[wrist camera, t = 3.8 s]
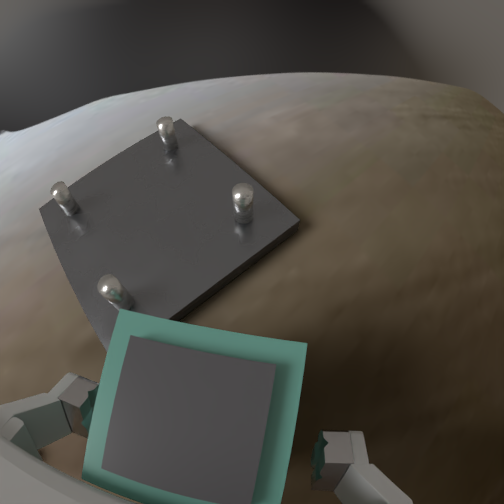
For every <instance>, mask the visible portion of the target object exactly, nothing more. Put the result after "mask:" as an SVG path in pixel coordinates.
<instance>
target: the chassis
mask: <svg viewBox="0 0 504 504" xmlns="http://www.w3.org/2000/svg"><path fill="white" fill-rule="evenodd" d="M156 124H157V128H158V131H157V132H155V133H153V134H151V135H150V136H148V137H146V138H144V139H143V140H141V141H139V142H137V143H136V144H134V145H132V146H131V147H129V148H127V149H126V150H124V151H122V152H121V153H119V154H118V155H116V156H114V157H113V158H111V159H110V160H108V161H106V162H105V163H103V164H102V165H100V166H99V167H97V168H96V169H94V170H93V171H91V172H90V173H88V174H87V175H85V176H84V177H82V178H81V179H79V180H78V181H76V182H75V183H74V184H72V185H71V186H69V187H68V188H67V186H66V185H65V183H64V182H57V183H56V184H54V185H53V187H52V188H51V194H52V196H53V197H54V198H53V199H52V200H50V201H49V202H48V203H46V204H45V205H44V206H42V207H41V208H40V209H39V210H40V213H41V216H42V218H43V221H44V224H45V226H46V229H47V231H48V234H49V236H50V239H51V241H52V244H53V246H54V249H55V251H56V253H57V256H58V258H59V260H60V262H61V265H62V267H63V269H64V271H65V273H66V276H67V278H68V280H69V282H70V284H71V286H72V288H73V290H74V292H75V294H76V296H77V298H78V300H79V302H80V304H81V306H82V308H83V310H84V312H85V314H86V316H87V318H88V319H89V321H90V323H91V325H92V327H93V328H94V330H95V332H96V334H97V336H98V337H99V339H100V341H101V343H102V344H103V346H104V348H105V349H106V351H107V352H108V348H109V345H110V341H111V338H112V334H113V331H114V327H115V324H116V320H117V317H118V314H119V310H120V309H124V310H128V311H132V312H137V313H141V314H145V315H150V316H154V317H159V318H163V319H168V320H173V321H177V322H178V321H179V320H181V319H182V318H183V317H185V316H186V315H187V314H189V313H190V312H191V311H193V310H194V309H195V308H197V307H198V306H199V305H201V304H202V303H203V302H205V301H206V300H207V299H208V298H210V297H211V296H212V295H214V294H215V293H216V292H218V291H219V290H220V289H222V288H223V287H224V286H226V285H227V284H228V283H230V282H231V281H232V280H234V279H235V278H236V277H237V276H239V275H240V274H241V273H243V272H244V271H245V270H247V269H248V268H249V267H251V266H252V265H253V264H255V263H256V262H257V261H258V260H260V259H261V258H262V257H264V256H265V255H266V254H268V253H269V252H270V251H272V250H273V249H274V248H275V247H277V246H278V245H279V244H281V243H282V242H283V241H285V240H286V239H287V238H289V237H290V236H291V235H292V234H294V233H295V232H296V231H298V227H299V223H300V219H298V218H297V217H296V216H295V215H294V214H293V213H292V212H291V211H290V210H288V209H287V208H286V207H285V206H284V205H283V204H282V203H281V202H279V201H278V200H277V199H276V198H275V197H274V196H273V195H272V194H270V193H269V192H268V191H267V190H266V189H265V188H264V187H262V186H261V185H260V184H259V183H258V182H257V181H255V180H254V179H253V178H252V177H251V176H250V175H248V174H247V173H246V172H245V171H244V170H243V169H241V168H240V167H239V166H238V165H237V164H236V163H234V162H233V161H232V160H231V159H230V158H228V157H227V156H226V155H225V154H224V153H222V152H221V151H220V150H219V149H218V148H216V147H215V146H214V145H213V144H212V143H210V142H209V141H208V140H207V139H205V138H204V137H203V136H202V135H201V134H199V133H198V132H197V131H196V130H194V129H193V128H192V127H191V126H189V125H188V124H187V123H186V122H184V121H183V120H182V119H179V120H177V121H175V122H173V120H172V118H171V117H162V118H160V119H159V120H158V121H157V123H156Z"/></svg>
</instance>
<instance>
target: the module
mask: <svg viewBox="0 0 504 504" xmlns="http://www.w3.org/2000/svg"><path fill="white" fill-rule="evenodd" d="M306 350H307V343H301V342H294V341H287V340H280V339H273V338H266V337H260V336H253V335H247V334H241V333H235V332H230V331H224V330H218V329H213V328H208V327H202V326H197V325H192V324H187V323H182V322H177V321H173V320H168V319H163V318H159V317H154V316H150V315H145V314H141V313H137V312H132V311H128V310H124V309H120V310H119V314H118V317H117V320H116V324H115V327H114V331H113V334H112V338H111V341H110V345H109V348H108V352H107V356H106V360H105V364H104V367H103V371H102V375H101V380H100V384H99V388H98V392H97V397H96V401H95V406H94V410H93V415H92V420H91V425H90V430H89V436H88V441H87V447H86V453H85V459H84V465H83V472H82V479H83V480H85V481H88V482H90V483H92V484H94V485H97V486H99V487H101V488H104V489H106V490H109V491H111V492H113V493H116V494H119V495H121V496H124V497H127V498H129V499H132V500H135V501H138V502H141V503H144V504H281V499H282V495H283V490H284V485H285V480H286V475H287V470H288V465H289V459H290V454H291V448H292V443H293V437H294V431H295V425H296V419H297V413H298V407H299V400H300V394H301V387H302V380H303V373H304V365H305V358H306Z"/></svg>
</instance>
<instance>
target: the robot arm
mask: <svg viewBox="0 0 504 504" xmlns="http://www.w3.org/2000/svg"><path fill="white" fill-rule="evenodd" d="M98 388H99V383H97V382H94V381H92V380H89V379H87V378H84V377H82V376H79V375H76V374H74V373H72V372H70V373H67V374H66V375H65V376H64V377H63V378H62V379H61V380H60V381H59V382H58V383H57V384H56V385H55V386H54V387H53V389H52V390H51V391H50V392H49V393H48V394H46V393H42V394H39V395H35V396H32V397H28V398H25V399H21V400H18V401H14V402H10V403H7V404H3V405H0V504H136V503H133V502H131V501H128V500H125V499H122V498H120V497H117V496H115V495H112V494H110V493H107V492H105V491H102V490H100V489H98V488H95V487H93V486H91V485H88V484H86V483H84V482H82V481H80V480H78V479H76V478H73V477H71V476H69V475H67V474H65V473H63V472H62V471H60V470H58V469H56V468H54V467H52V466H50V465H48V464H47V463H45V462H43V460H42V457H41V456H40V454H39V452H38V449H40V448H42V447H44V446H47V445H49V444H51V443H53V442H55V441H57V440H59V439H61V438H63V437H65V436H67V435H69V434H71V433H72V432H73V433H75V434H78V435H80V436H83V437H85V438H88V436H89V430H90V425H91V420H92V415H93V410H94V406H95V401H96V397H97V392H98ZM311 467H312V468H313V469H314V470H313V473H312V475H311V490H325V491H334V493H335V494H336V496H337V497H338V498H339V500H340V501H341V503H342V504H413V502H412V500H411V499H410V498H409V497H408V496H407V495H406V494H405V493H404V492H402V491H401V490H400V489H399V488H398V487H397V486H396V485H395V484H394V483H393V482H392V481H391V480H389V479H388V478H387V477H386V476H385V475H384V474H383V473H382V472H381V471H380V470H379V469H378V468H377V467H376V466H375V465H374V464H369V460H368V455H367V450H366V445H365V440H364V435H363V432H362V431H344V430H323V429H322V430H321V431H320V432H319V435H318V442H317V443H315V445H314V447H313V451H312V455H311Z"/></svg>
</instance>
